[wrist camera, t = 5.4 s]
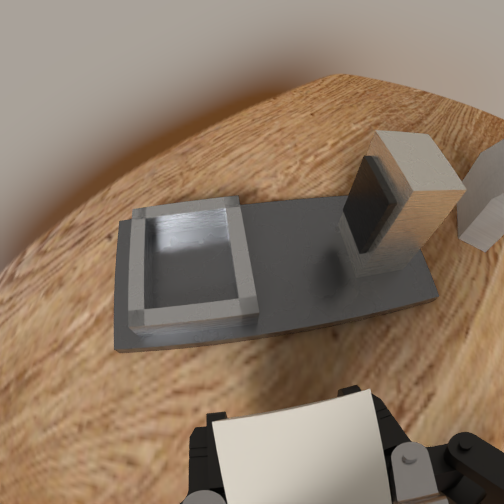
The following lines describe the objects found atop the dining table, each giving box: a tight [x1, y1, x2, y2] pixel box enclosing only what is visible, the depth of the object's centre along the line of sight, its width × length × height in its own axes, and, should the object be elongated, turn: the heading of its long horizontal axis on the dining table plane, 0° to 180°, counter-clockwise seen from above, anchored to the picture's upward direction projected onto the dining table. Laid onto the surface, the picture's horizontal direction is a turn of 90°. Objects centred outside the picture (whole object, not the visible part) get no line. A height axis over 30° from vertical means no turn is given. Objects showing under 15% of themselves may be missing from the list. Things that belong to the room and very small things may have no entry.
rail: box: [114, 130, 467, 353], centre depth 17 cm, size 23×10×10 cm, turn 99°
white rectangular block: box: [212, 389, 392, 504], centre depth 9 cm, size 4×4×9 cm
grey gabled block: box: [457, 139, 504, 252], centre depth 21 cm, size 4×7×10 cm, turn 157°
